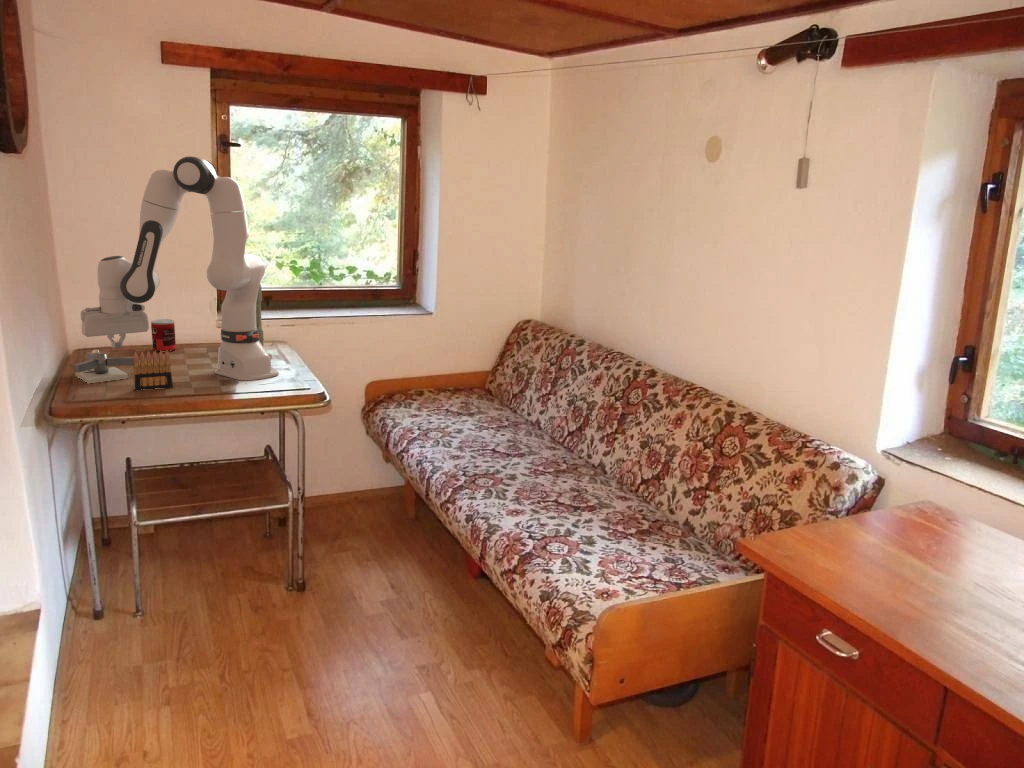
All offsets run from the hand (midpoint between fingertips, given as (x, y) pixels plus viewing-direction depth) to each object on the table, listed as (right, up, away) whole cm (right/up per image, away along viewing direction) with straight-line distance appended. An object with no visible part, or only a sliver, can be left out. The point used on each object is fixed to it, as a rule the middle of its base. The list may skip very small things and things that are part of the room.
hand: (117, 347), depth 269 cm
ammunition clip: (+20, -14, -18) cm, 30 cm away
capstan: (-2, -8, -7) cm, 11 cm away
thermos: (+30, +2, +44) cm, 54 cm away
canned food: (+2, 0, +32) cm, 32 cm away
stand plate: (-1, -10, -8) cm, 13 cm away
